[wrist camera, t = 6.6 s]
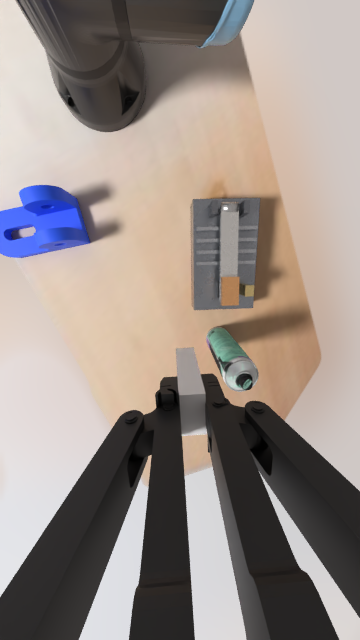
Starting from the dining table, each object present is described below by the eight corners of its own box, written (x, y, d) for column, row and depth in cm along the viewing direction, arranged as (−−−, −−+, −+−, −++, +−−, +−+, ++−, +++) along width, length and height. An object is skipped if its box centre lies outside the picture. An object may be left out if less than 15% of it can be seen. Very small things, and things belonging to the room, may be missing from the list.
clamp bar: (219, 204, 37) (223, 198, 34) (236, 204, 37) (241, 198, 34) (218, 304, 40) (222, 305, 37) (234, 303, 40) (238, 305, 38)
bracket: (77, 198, 41) (51, 181, 32) (90, 243, 43) (70, 238, 35) (-12, 218, 41) (-61, 206, 33) (5, 261, 43) (-36, 261, 35)
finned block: (190, 206, 42) (195, 192, 33) (250, 205, 42) (269, 190, 34) (191, 305, 47) (196, 314, 39) (244, 303, 48) (260, 312, 39)
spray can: (204, 347, 50) (224, 400, 31) (208, 325, 49) (232, 366, 29) (226, 349, 50) (260, 403, 31) (231, 328, 49) (270, 370, 30)
